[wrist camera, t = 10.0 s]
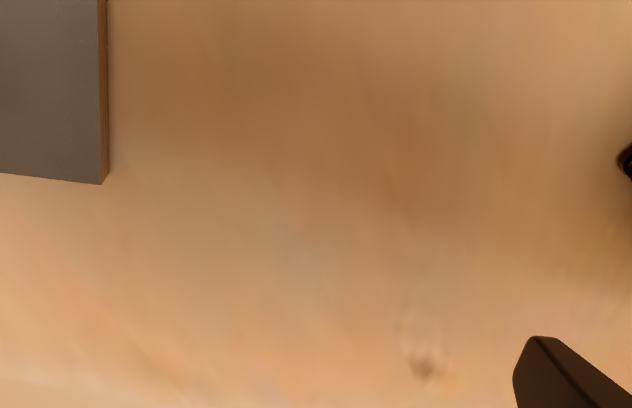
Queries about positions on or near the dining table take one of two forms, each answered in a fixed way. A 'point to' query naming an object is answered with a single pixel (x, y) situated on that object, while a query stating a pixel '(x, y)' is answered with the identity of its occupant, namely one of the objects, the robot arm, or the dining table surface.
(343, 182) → the dining table surface
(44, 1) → the base
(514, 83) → the dining table surface
